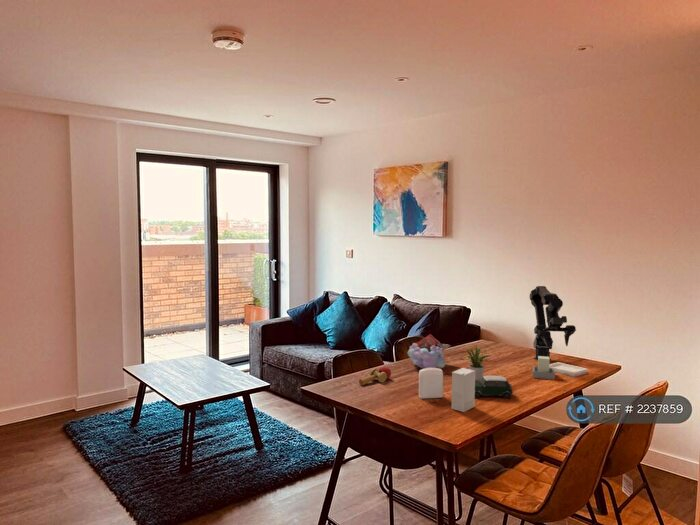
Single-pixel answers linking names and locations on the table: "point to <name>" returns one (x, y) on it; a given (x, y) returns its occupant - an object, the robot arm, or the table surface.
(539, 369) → the sage block
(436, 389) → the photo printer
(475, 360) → the house plant
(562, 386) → the table surface
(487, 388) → the miniature car
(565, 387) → the table surface
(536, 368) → the holder
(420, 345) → the lumpy lavender cluster
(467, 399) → the skincare box
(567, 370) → the tray
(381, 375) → the kendama
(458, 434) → the table surface
